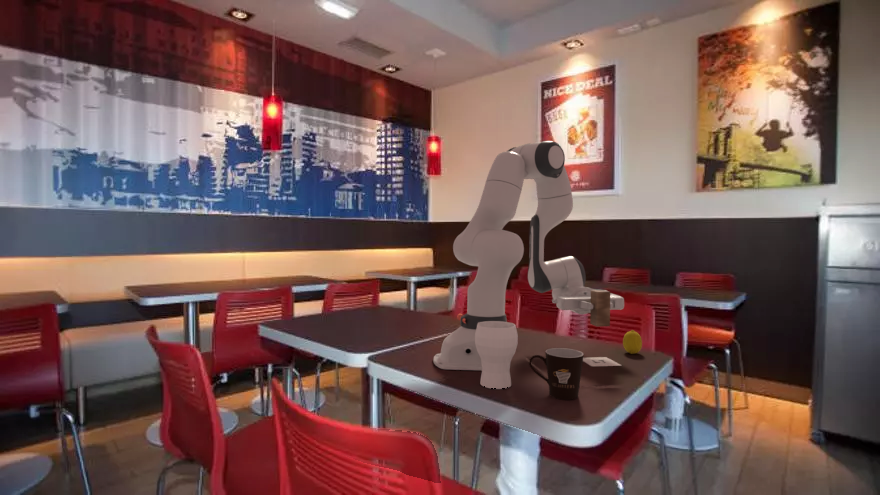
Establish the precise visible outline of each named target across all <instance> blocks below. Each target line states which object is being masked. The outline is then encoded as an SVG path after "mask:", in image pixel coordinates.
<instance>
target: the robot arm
mask: <svg viewBox="0 0 880 495" xmlns="http://www.w3.org/2000/svg"><path fill="white" fill-rule="evenodd" d="M565 155H566V154H565V152H564V149H563V148H562V146H561V145H560V144H559V143H558V142H557V141H553V140H544V141H540V142H533V143H531V142H530V143H525V144H522V145H519V146H515V147H511V148H510V149H509V148H508V150H506V151H503V152H500V153H498V154H497V156H495V158H494V160H493V162H492V163H491V167H490V169H489V172H488V174H487V177H486V179H485V184H484V187H483V190H482V194H481V196H480V200H479V204H478V205H477V209H476V210H475V211H474V214H473V216H472V218H471V219H470V221H469V223H468V224H467V226H466V227H465V229H464V230H463V231H462V232H461V233H460V234H458V235H457V236H456V238H455V239H454V241H453V245H452V249H453V250H452V251H453V255H454V256H455V258H456V259H457V261H459V262H461V263H463V264H465V265H468V266H472V267H477V271H476V276H475V278H474V280H473V281H472V282H471V283H470V284H469V285H468V287H467V294H466V296H467V300H466V301H467V304H466V306H467V307H466V308H467V309H466V310H467V312H466V313H465V314H462V313H458V314H457V316H456V319H457V320H458V321H459V322H460V323H459V324H460V326H459V327H458V328H456V329H455V330H454V331H453V332H451V333H450V334H449V335H447V336H446V337H445V338H444V339H443V341H442V344H441V347H440V348H441V349H440V353H436V354H435V355H434V356H433V364H434V365H435V367H437V368H439V369H441V370H453V371H454V370H456V371H460V370H461V371H482V362H481V358H480V356H479V354H478V351H477V348H476V344H475V332H476V328H477V324H478V323H480V322H485V321H502V322H508V321H507V314H506V313H505V312H506V293H507V285H508V280H509V278H510V276H511V273H512V271H513V270H514V269H515V267H516V266H517V265H519V263H520V262H521V260H522V258H523V256H524V252H525V247H524V246H525V245H524V243H523V240H522V238H521V237H520V236H519V235H518V233H514V232H512V231H509V230H504V227H505V226H506V225H507V224H508V223H509V222H510V221H511V220H513V218H514V217H515V215H516V213H517V209H518V205H519V201H520V197H521V194H522V190H523V185H524V180H533V181H534V182H535V186H536V197H537V208H536V212H535V214H534V215H533V216H531V218H530V224H529V240H528V241H529V243H528V244H529V249H528V251H529V253H528V254H529V256H528V268H527V281H528V284H529V287H530V288H531V289H532V290H534V291H535V292H538V293H541V294H544V293H546V292H549V291H551V296H552V299H551V301H552V303H553V304H556V307H557V308H558V309H559V310H561V311H571V312H573V313H576V314H579V315H587V314H590V311H591V310H594V309H595V304H594V303H591V290H601V289H596V288H591V287H587V286H586V280H587V277H586V270H585V267H584V265H583V263H582V262H581V260H578V258H577V257H576V256H572V255H568V256H563V257H559V258H555V259H552V260H546V261H545V260H544V259H545V257H544V256H545V252H544V251H545V250H544V249H545V238H546V236H547V235H548V233H549V232H550V231H552V229H554V228H555V227H557V226H559V225H560V224H561V223H562V222H564V221H566V219H567V218H568V217H569V216H570V214H571V213H572V211H573V208H574V207H573V206H574V202H573V201H574V200H573V194H572V188H571V187H572V186H571V182H570V179H569V178H570V177H569V175H568V171H567V169H566V167H565V161H566V159H565V158H566V156H565ZM604 290H605V291H608V290H607V289H604ZM624 308H625V298H624V297H623V296H621V295H619V294H615V293H612V292H610V311H612V310H615V311H616V310H619V311H621V310H624Z"/></svg>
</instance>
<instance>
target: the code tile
mask: <svg viewBox="0 0 880 495" xmlns="http://www.w3.org/2000/svg"><path fill="white" fill-rule="evenodd" d="M583 363H586V364H587V365H589V366H590V367H613V366H615V367H616V366H622V364H620V363H618V362H616V361H615V360H612V359H611V358H608V357H607V356H598V357H597V356H596V357H595V356H594V357H592V356H591V357H583Z"/></svg>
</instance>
